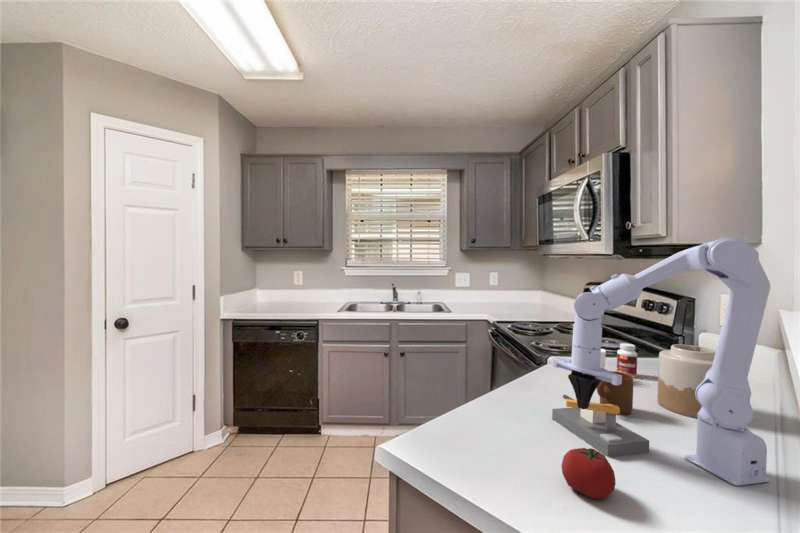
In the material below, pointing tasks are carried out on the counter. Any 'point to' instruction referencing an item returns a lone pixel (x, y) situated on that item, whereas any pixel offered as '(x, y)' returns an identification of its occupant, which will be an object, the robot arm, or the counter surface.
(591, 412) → the plug
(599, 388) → the mug
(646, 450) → the grey piece
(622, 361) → the pill bottle
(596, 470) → the tomato
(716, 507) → the counter surface
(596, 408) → the clip
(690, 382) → the vase
